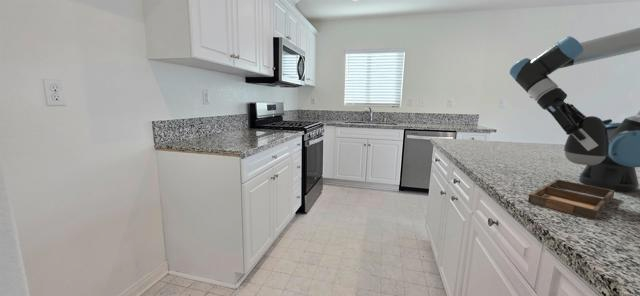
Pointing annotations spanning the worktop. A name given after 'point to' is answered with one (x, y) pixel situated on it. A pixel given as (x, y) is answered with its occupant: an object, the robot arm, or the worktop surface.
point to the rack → (572, 198)
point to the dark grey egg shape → (597, 133)
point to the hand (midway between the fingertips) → (600, 147)
